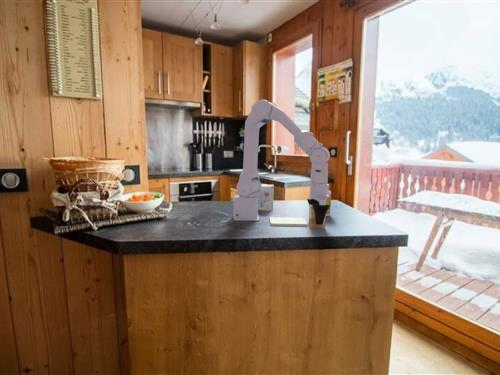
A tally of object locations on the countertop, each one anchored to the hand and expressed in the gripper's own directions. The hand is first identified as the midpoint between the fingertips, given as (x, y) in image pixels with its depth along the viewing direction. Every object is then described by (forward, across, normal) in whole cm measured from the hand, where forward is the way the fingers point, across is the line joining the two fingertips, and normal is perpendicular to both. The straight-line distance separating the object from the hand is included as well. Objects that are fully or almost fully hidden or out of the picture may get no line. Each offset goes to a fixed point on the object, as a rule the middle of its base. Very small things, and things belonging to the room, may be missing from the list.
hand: (316, 221), depth 103 cm
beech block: (+2, 0, 0) cm, 2 cm away
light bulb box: (+2, +28, +19) cm, 34 cm away
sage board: (+2, +5, +10) cm, 11 cm away
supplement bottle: (+2, +18, -6) cm, 19 cm away
